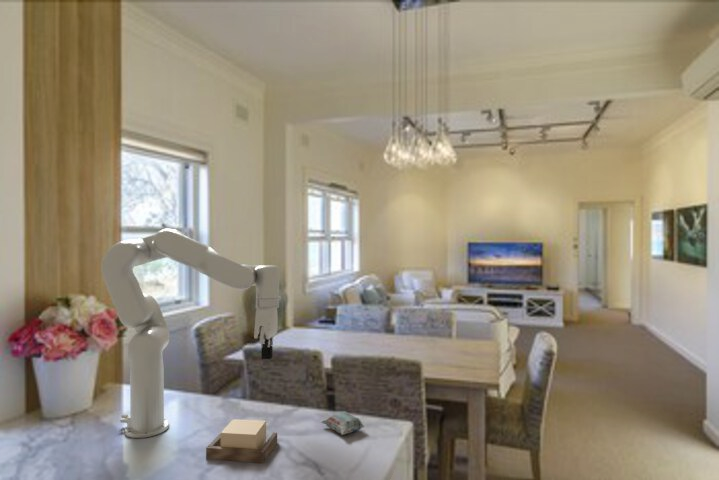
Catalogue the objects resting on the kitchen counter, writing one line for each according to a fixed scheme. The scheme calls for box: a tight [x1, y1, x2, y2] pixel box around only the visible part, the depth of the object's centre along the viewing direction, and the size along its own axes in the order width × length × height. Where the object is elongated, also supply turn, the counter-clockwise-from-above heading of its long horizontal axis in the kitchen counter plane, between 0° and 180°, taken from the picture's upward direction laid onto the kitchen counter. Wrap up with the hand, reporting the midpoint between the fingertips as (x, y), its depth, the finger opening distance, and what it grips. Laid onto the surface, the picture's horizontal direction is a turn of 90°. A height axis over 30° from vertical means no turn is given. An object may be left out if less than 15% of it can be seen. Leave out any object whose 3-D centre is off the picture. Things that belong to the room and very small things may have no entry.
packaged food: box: [320, 410, 365, 436], centre depth 139 cm, size 9×12×5 cm
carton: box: [220, 418, 267, 450], centre depth 126 cm, size 10×9×7 cm
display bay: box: [205, 432, 278, 464], centre depth 126 cm, size 16×12×3 cm
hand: (266, 358), depth 146 cm, fingers closed
